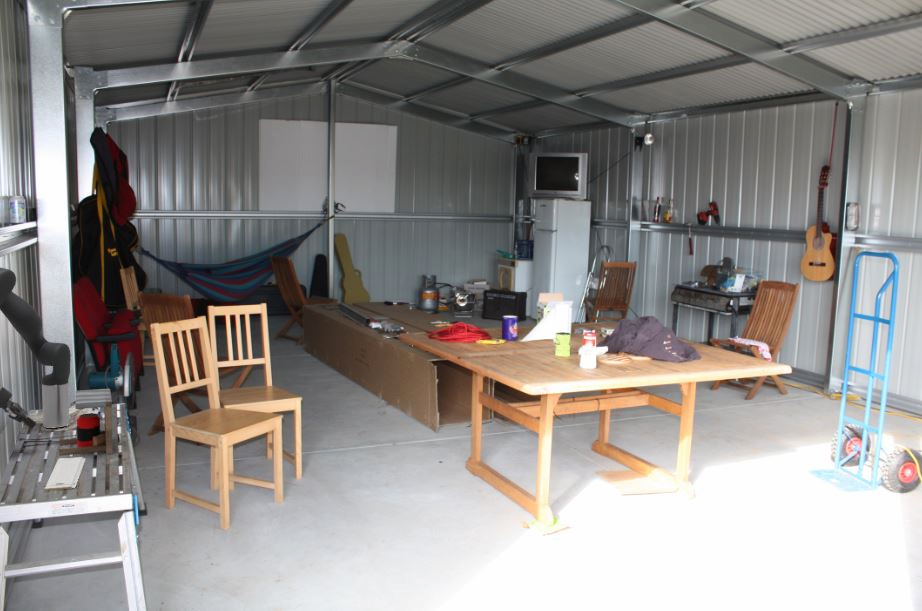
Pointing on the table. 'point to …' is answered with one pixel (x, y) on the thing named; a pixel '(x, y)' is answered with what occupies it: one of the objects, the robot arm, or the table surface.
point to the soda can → (87, 429)
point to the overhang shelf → (105, 438)
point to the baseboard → (65, 474)
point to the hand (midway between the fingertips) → (34, 426)
